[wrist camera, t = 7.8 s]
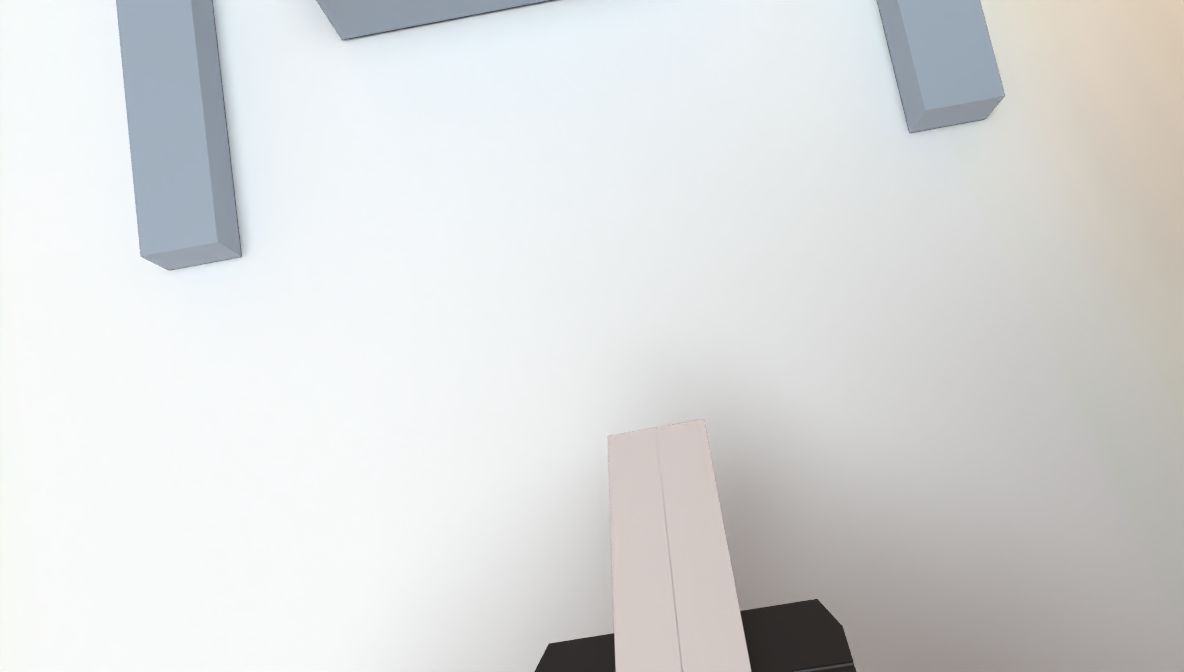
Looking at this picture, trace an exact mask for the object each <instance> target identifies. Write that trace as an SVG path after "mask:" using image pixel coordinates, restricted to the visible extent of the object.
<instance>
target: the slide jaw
mask: <svg viewBox="0 0 1184 672" xmlns="http://www.w3.org/2000/svg"><path fill="white" fill-rule="evenodd" d="M316 1H317V2H318V4H319V5H320V7H321V8H322V10H323V11H324V13H325V15H326V16H327V18H328V19H329V21H330V22H331V24H332V25H333V27H334V28H335V30H336V31H337V33H338V34H339V36H340V38H341V39H342V40H343V39H348V38H354V37H359V36H364V35H369V34H375V33H380V32H385V31H390V30H396V29H401V28H406V27H411V26H417V25H422V24H427V23H432V22H438V21H443V20H448V19H453V18H459V17H464V16H469V15H475V14H480V13H485V12H490V11H496V10H501V9H506V8H511V7H517V6H522V5H527V4H532V3H538V2H543V1H548V0H316Z"/></svg>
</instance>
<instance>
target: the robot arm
mask: <svg viewBox="0 0 1184 672" xmlns="http://www.w3.org/2000/svg"><path fill="white" fill-rule="evenodd" d="M608 463H609V492H610V521H611V550H612V579H613V609H614V634H607V635H601V636H595V637H588V638H582V639H575V640H569V641H563V642H556V643H550V644H549V645H548V647H547V649H546V651H545V653H544V654H543V656H542V658H541V660H540V662H539V664H538V666H537V668H536V670H535V672H856V669H855V667H854V664H853V659H852V656H851V653H850V649H849V646H848V643H847V640H846V636H845V633H844V630H843V626H842V625H841V624H840V623H839V622H838V621H837V620H836V619H835V618H834V617H833V616H832V615H831V613H830V612H829V611H828V610H827V609H826V608H825V607H824V606H823V605H822V604H821V603H820V602H819V601H818V599H814V600H808V601H801V602H795V603H789V604H782V605H776V606H770V607H763V608H757V609H751V610H744V611H740V608H739V603H738V598H737V592H736V587H735V582H734V576H733V571H732V566H731V560H730V555H729V549H728V544H727V539H726V533H725V528H724V523H723V517H722V512H721V507H720V501H719V496H718V491H717V485H716V480H715V475H714V469H713V464H712V459H711V453H710V448H709V443H708V437H707V432H706V427H705V421H704V419H701V420H696V421H690V422H684V423H679V424H673V425H667V426H662V427H656V428H650V429H645V430H639V431H633V432H628V433H622V434H616V435H611V436H608Z"/></svg>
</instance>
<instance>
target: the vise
mask: <svg viewBox="0 0 1184 672" xmlns="http://www.w3.org/2000/svg"><path fill="white" fill-rule="evenodd" d="M877 2H878V6H879V10H880V14H881V18H882V22H883V26H884V30H885V34H886V38H887V43H888V47H889V51H890V55H891V59H892V63H893V67H894V71H895V75H896V79H897V83H898V88H899V92H900V96H901V100H902V104H903V108H904V112H905V116H906V120H907V124H908V128H909V133H912V132H918V131H923V130H929V129H934V128H939V127H945V126H950V125H956V124H961V123H966V122H972V121H977V120H983V119H986V118H987V116H988V115H989V114H990V113H991V112H992V111H993V109H994V108H995V107H996V106H997V105H998V104H999V102H1000V101H1001V100H1002V99H1003V98H1004V97H1005V93H1004V89H1003V85H1002V82H1001V78H1000V74H999V70H998V67H997V63H996V59H995V55H994V51H993V48H992V44H991V40H990V36H989V32H988V29H987V25H986V21H985V17H984V14H983V10H982V6H981V2H980V0H877ZM116 4H117V15H118V25H119V36H120V46H121V57H122V67H123V78H124V88H125V98H126V109H127V119H128V130H129V140H130V151H131V161H132V171H133V182H134V192H135V203H136V213H137V224H138V234H139V245H140V255H141V257H143V258H145V259H147V260H149V261H151V262H153V263H155V264H157V265H159V266H161V267H163V268H165V269H167V270H173V269H178V268H184V267H189V266H195V265H200V264H205V263H211V262H216V261H222V260H227V259H232V258H238V257H241V249H240V240H239V231H238V222H237V214H236V205H235V196H234V188H233V179H232V170H231V161H230V153H229V144H228V135H227V126H226V118H225V109H224V100H223V92H222V83H221V74H220V65H219V57H218V48H217V39H216V30H215V22H214V13H213V4H212V0H116Z"/></svg>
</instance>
